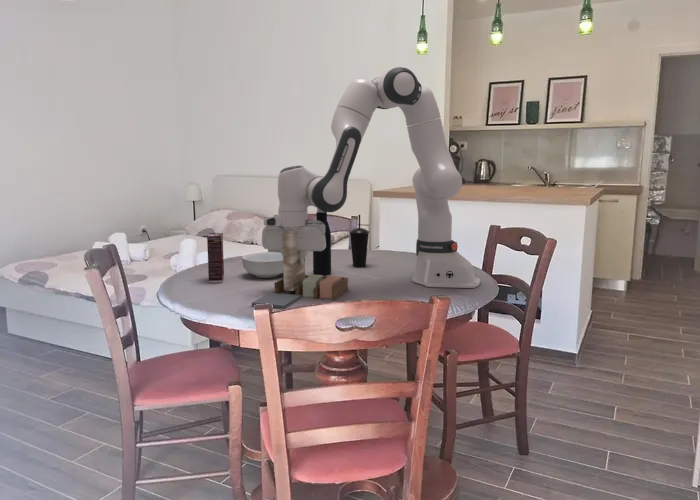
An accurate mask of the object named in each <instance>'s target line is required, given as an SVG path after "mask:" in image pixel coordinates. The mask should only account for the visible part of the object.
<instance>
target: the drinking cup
mask: <svg viewBox="0 0 700 500" xmlns="http://www.w3.org/2000/svg"><path fill="white" fill-rule="evenodd" d="M348 233H349V234H350V236H349V237H350V247H351V257H352V266H353V267H354V268H366V266H367V256H368V246H369V245H368V243H369V234H370V230H367V229H366V228H363V227H361V214H358V227H356V228H353V229H351V230H349V232H348Z"/></svg>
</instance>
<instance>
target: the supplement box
mask: <svg viewBox="0 0 700 500" xmlns="http://www.w3.org/2000/svg"><path fill="white" fill-rule="evenodd" d="M223 234H224V233H223V232H210V233H208V235H207V236H206V243H207V244H206V245H207V264H208V265H207V267H208V270H207V273H208V283H209V284H223V281H224V278H225V268H224V267H225V266H224V263H225V262H224V238H223V237H224V236H223Z"/></svg>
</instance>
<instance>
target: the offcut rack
mask: <svg viewBox="0 0 700 500" xmlns="http://www.w3.org/2000/svg"><path fill="white" fill-rule="evenodd" d="M309 275H310V274H305V279H306V278H307V277H308V276H309ZM328 276H329V275H327V276H323V279H325V278H327V277H328ZM273 286H274V293H279V294H284V293H285V292H286V291H287V290H284V277H283V278H281V279H279V280H277V281H275V282H274V285H273ZM348 290H349V278H348V277H344V276H342V280H341V281H340V282H338V283H337V284H335V285H334V286H333V287H332V299H331V301H336V300H337V299H338V298H340V297H341V296H342V295H343V294H345V293H346V292H347V291H348ZM294 291H295V293H294V295H301V296H303V283H302V284H300V285H299V286H297V287H295V290H294ZM313 291H314V297H313V299H314V300H317V299H318V298H320V285H319V286H317V287H316V288H314V289H313Z"/></svg>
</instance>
